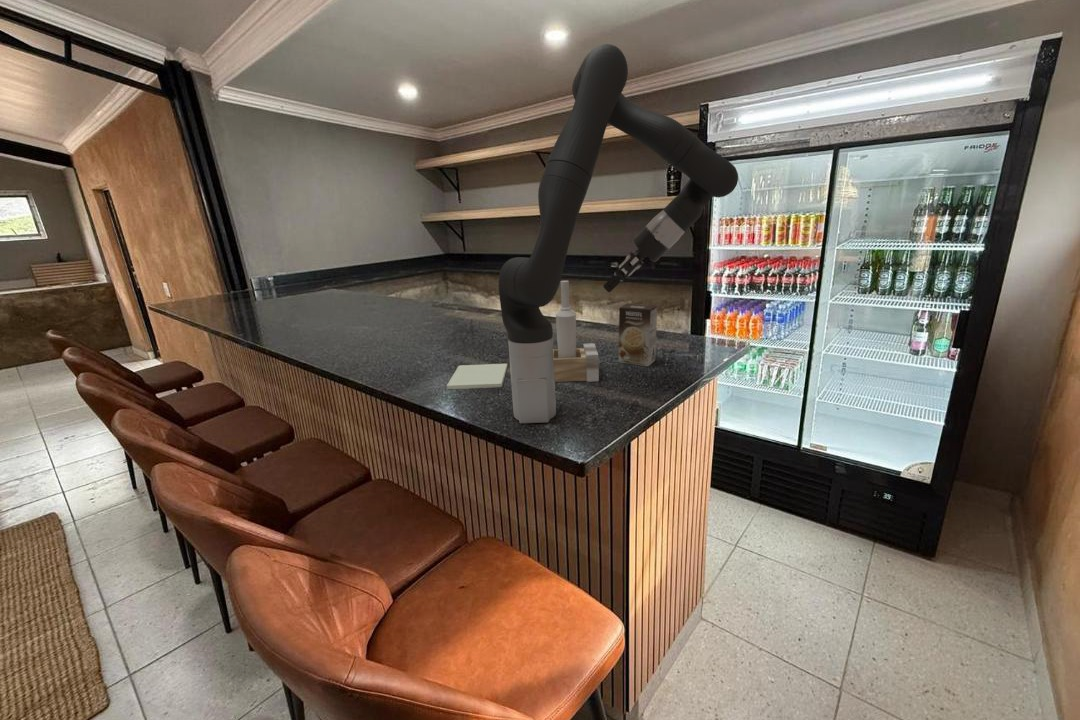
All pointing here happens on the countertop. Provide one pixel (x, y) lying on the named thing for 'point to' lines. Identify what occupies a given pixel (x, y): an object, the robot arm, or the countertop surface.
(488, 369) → the sage board
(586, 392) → the countertop surface
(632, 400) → the countertop surface
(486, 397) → the countertop surface
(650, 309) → the coffee box
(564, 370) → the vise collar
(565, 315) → the bottle
